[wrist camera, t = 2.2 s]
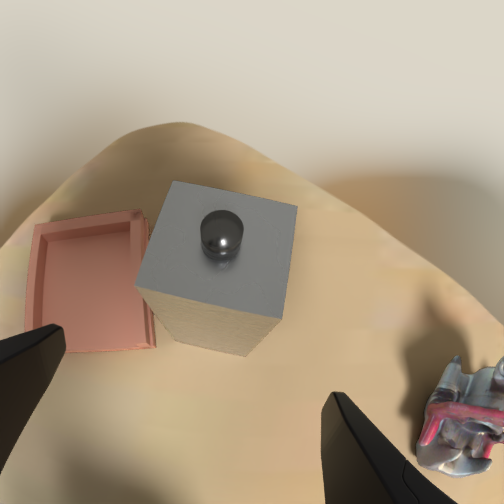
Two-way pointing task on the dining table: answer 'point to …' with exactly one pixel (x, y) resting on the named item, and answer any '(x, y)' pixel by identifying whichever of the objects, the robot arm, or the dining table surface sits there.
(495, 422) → the brake caliper
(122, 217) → the tray
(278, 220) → the knobbed tall block
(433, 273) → the dining table surface
